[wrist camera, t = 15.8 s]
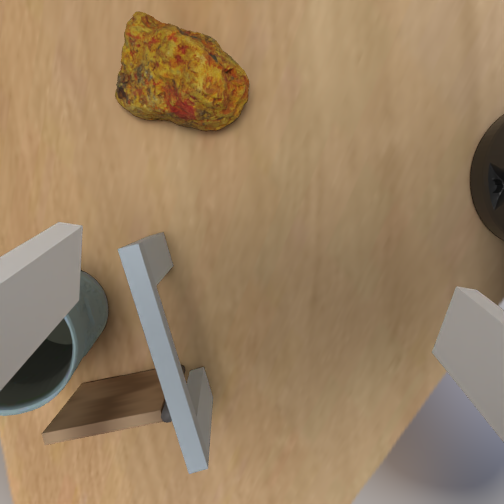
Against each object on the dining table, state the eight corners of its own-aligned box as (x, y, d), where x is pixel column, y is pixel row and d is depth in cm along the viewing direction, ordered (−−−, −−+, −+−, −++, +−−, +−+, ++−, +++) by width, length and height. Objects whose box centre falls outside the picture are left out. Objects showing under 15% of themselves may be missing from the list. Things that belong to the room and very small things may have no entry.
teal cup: (-4, 325, 40) (-100, 377, 28) (43, 237, 40) (-35, 252, 28) (89, 372, 42) (34, 440, 30) (137, 287, 41) (100, 322, 29)
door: (184, 363, 42) (172, 409, 32) (188, 383, 42) (177, 434, 33) (81, 383, 41) (40, 435, 32) (86, 403, 42) (46, 461, 32)
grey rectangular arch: (213, 397, 43) (208, 468, 31) (199, 401, 43) (189, 474, 31) (163, 231, 40) (138, 243, 29) (148, 236, 40) (117, 249, 29)
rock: (174, 143, 43) (88, 101, 36) (190, 69, 44) (109, 11, 36) (256, 138, 36) (171, 84, 29) (274, 49, 37) (195, -28, 29)
